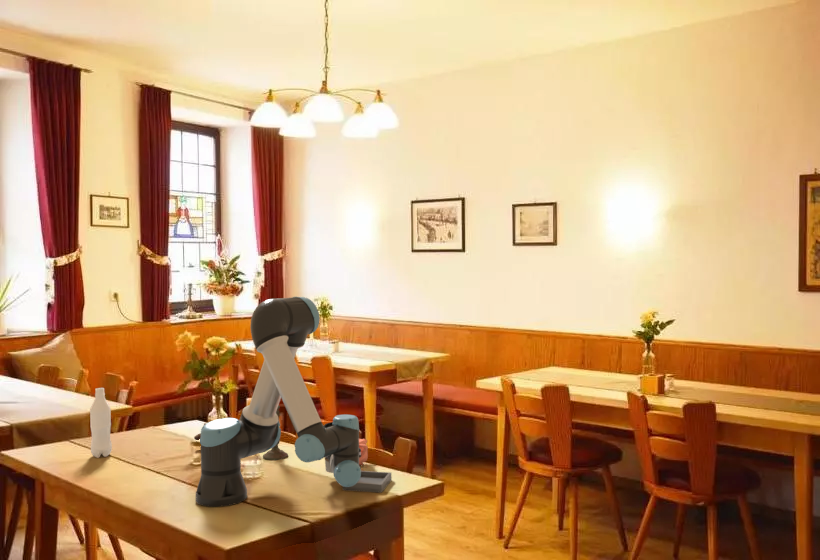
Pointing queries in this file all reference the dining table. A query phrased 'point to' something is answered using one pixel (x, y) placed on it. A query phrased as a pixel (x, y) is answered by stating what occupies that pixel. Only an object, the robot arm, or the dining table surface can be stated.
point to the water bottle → (100, 425)
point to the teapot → (363, 451)
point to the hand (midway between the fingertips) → (333, 440)
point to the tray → (371, 482)
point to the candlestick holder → (275, 450)
